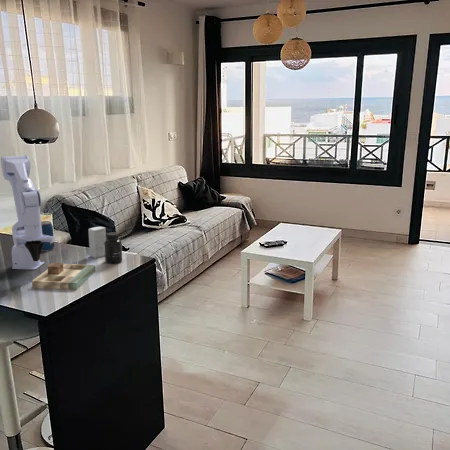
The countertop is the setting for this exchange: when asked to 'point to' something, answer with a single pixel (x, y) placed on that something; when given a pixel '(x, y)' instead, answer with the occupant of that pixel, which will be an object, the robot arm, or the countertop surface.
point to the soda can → (47, 230)
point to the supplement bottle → (113, 248)
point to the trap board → (65, 277)
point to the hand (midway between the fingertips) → (36, 260)
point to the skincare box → (97, 241)
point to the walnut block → (55, 268)
